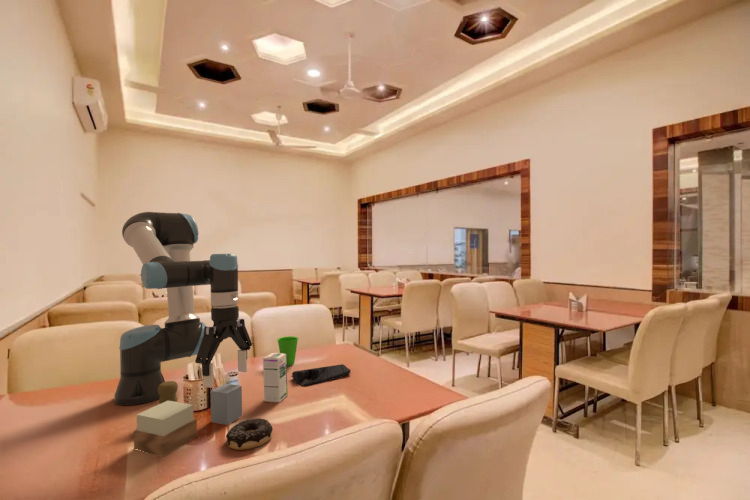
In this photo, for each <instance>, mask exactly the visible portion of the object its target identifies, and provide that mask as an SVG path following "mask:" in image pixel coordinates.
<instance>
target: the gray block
mask: <svg viewBox="0 0 750 500" xmlns="http://www.w3.org/2000/svg"><path fill="white" fill-rule="evenodd" d="M242 389H243V388H242V385H237V384H231V383H224V384H222V385H220V386H218V387H216V388H213V389H211V390H210V423H216V424H220V425H224V426H225V425H226V426H228V425H230V424H232V423H233V422H235V421H236V420H238V419H240V418H241V417H243V401H242V400H243V395H242V394H243V392H242V391H243V390H242Z"/></svg>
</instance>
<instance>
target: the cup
mask: <svg viewBox="0 0 750 500" xmlns="http://www.w3.org/2000/svg"><path fill="white" fill-rule="evenodd" d="M299 338H300V337H298V336H283V337H279V338H277V340H276V341H277V343H278V348H279V353H285V354H286V364H287V367H290V365H291V366H293V364H294V365H295V362H296V361H295V360H296V354H297V347H298V346H297V345H298V340H299Z"/></svg>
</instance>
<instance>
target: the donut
mask: <svg viewBox="0 0 750 500" xmlns="http://www.w3.org/2000/svg"><path fill="white" fill-rule="evenodd" d="M273 434H274V433H273V426H272V424H271V423H270V421H269V420H267V419H266V418H258V417H257V418H250V419H245V420H242V421H240V422H238V423H236V424H235V425H233V426H232V427H231V428H229V430H228V431H227V433H226V435H225V438H226V444H227V446H228V447H229V448H230V449H233V450H237V451H245V450H251V449H254V448H258V447H260V446H263V445H265V444H266V443H268V442H269V441H270V440H271V439H272V437H273Z"/></svg>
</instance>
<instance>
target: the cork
mask: <svg viewBox="0 0 750 500" xmlns="http://www.w3.org/2000/svg"><path fill="white" fill-rule="evenodd" d="M178 388H179V385H178V383H177V382H176V381H174V380H166V381H165V382H163V383H161V384H160V385H159V386H158V394H159V395H160V398H159V399H158V400H159V401H158V405H159V404H161V403H163V402H166V401H174V402H178V396H177V391H178Z"/></svg>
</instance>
